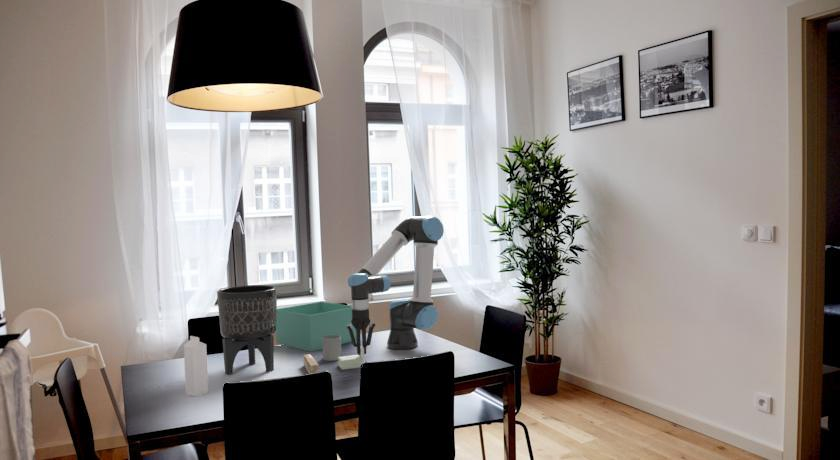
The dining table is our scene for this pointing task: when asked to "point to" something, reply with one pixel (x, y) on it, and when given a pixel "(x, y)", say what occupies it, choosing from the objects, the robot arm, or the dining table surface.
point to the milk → (195, 367)
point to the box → (313, 324)
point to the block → (349, 361)
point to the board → (310, 364)
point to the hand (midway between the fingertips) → (361, 361)
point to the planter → (248, 322)
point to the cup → (331, 347)
